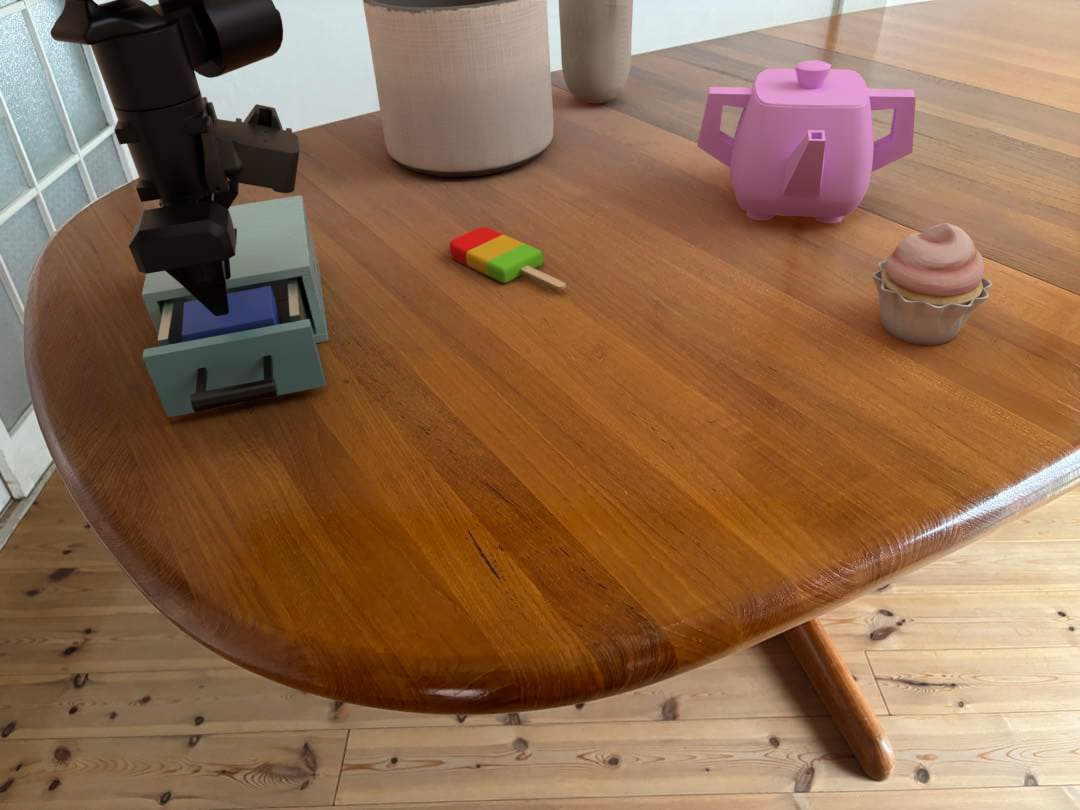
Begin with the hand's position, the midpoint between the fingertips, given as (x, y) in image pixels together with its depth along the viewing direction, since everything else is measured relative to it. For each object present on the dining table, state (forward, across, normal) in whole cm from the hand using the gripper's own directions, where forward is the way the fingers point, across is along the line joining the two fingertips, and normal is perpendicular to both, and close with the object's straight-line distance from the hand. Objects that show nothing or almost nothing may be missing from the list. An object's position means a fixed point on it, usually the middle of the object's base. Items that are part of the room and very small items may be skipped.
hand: (223, 296), depth 66 cm
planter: (+9, +46, -29) cm, 55 cm away
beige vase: (+9, +58, -51) cm, 78 cm away
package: (+5, 0, 0) cm, 5 cm away
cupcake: (+9, -12, -57) cm, 59 cm away
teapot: (+9, +15, -60) cm, 62 cm away
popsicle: (+9, +11, -26) cm, 30 cm away
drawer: (+7, 0, 0) cm, 7 cm away
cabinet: (+8, +12, 0) cm, 15 cm away
